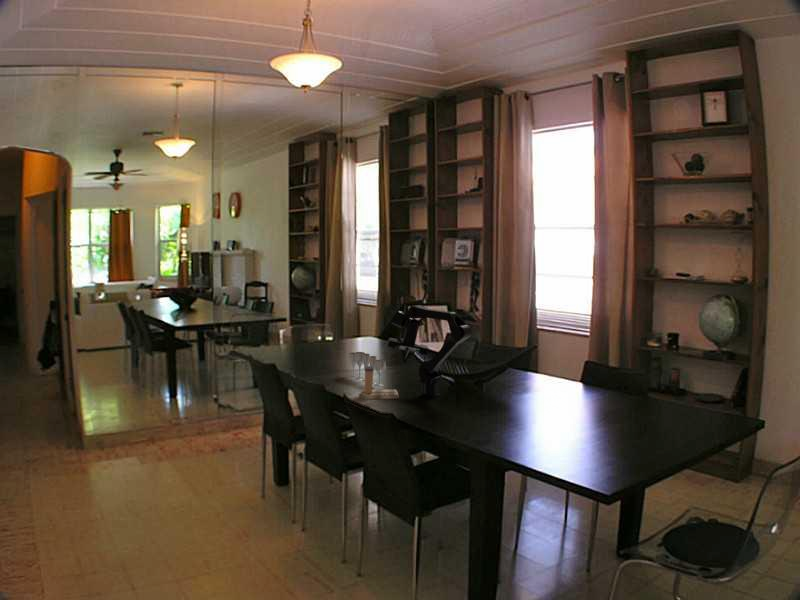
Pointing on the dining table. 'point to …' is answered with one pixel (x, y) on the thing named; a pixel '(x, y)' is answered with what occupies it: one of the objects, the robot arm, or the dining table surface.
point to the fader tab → (368, 379)
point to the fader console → (380, 394)
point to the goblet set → (366, 359)
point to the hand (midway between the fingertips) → (404, 363)
